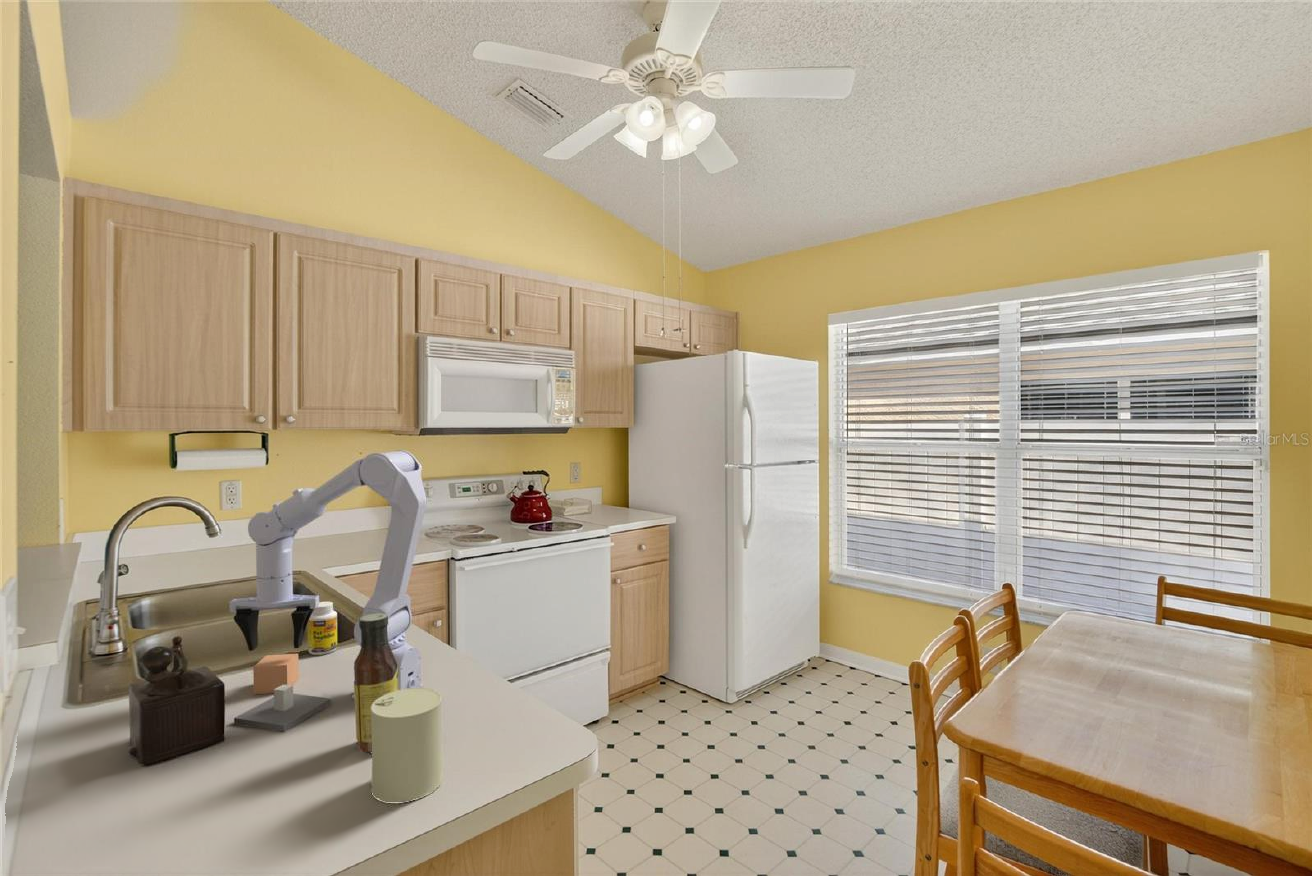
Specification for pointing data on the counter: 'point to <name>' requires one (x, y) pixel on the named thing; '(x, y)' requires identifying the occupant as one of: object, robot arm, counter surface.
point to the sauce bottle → (372, 674)
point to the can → (406, 744)
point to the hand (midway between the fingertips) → (275, 647)
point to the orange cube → (275, 672)
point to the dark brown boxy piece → (174, 707)
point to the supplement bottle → (322, 630)
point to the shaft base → (282, 710)
